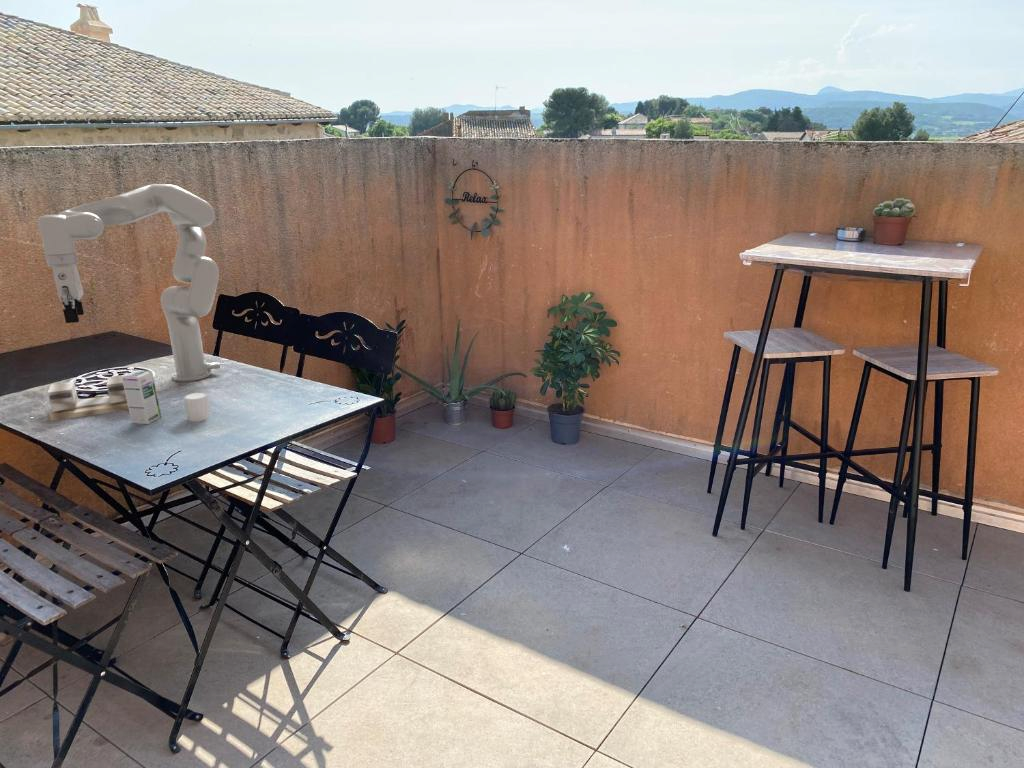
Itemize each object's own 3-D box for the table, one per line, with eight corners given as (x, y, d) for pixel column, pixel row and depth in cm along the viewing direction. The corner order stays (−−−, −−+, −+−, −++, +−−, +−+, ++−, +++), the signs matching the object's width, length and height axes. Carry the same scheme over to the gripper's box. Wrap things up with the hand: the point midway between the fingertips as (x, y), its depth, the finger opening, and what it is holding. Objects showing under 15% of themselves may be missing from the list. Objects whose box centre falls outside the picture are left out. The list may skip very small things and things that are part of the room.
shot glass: (204, 411, 205) (201, 390, 203) (216, 417, 201) (212, 395, 199) (182, 418, 200) (178, 396, 198) (193, 424, 196) (189, 401, 194)
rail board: (136, 396, 218) (131, 372, 215) (135, 408, 208) (130, 383, 205) (55, 407, 209) (49, 382, 206) (50, 420, 198) (44, 395, 196)
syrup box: (148, 424, 196) (139, 377, 191) (130, 423, 197) (121, 375, 192) (161, 417, 201) (153, 370, 196) (144, 415, 202) (135, 369, 197)
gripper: (72, 263, 186) (86, 324, 192) (82, 254, 201) (94, 311, 207) (40, 265, 183) (55, 326, 189) (52, 256, 198) (65, 313, 204)
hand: (75, 318), depth 198 cm, fingers open, 9 cm apart
